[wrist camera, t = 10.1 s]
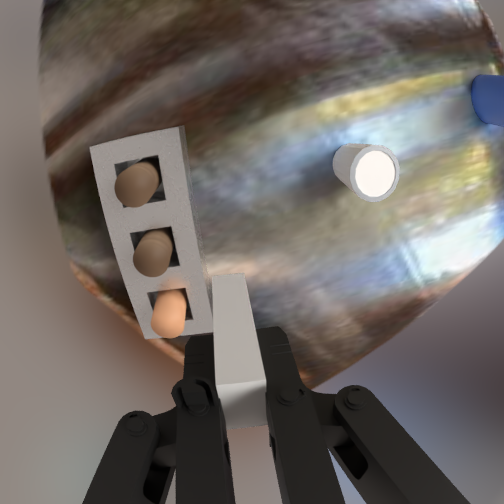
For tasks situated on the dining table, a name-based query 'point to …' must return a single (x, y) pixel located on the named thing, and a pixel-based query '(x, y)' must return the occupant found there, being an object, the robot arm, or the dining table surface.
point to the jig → (157, 225)
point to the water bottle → (489, 98)
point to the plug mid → (154, 252)
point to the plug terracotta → (169, 313)
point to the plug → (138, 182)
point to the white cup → (367, 170)
